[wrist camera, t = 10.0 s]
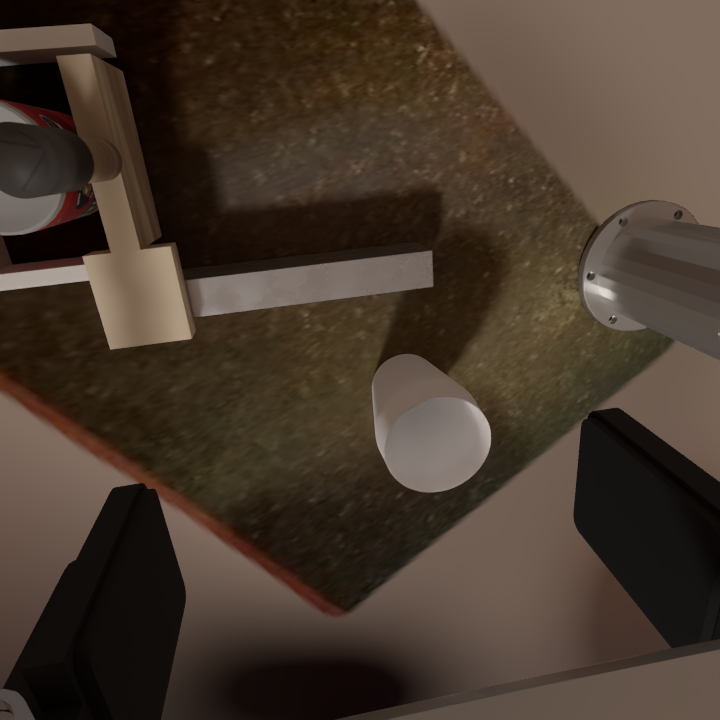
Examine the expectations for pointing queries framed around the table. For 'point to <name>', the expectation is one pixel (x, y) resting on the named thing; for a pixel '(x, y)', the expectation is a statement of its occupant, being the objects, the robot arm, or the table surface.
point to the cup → (427, 425)
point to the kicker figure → (105, 202)
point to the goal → (32, 50)
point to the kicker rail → (308, 278)
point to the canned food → (47, 211)
